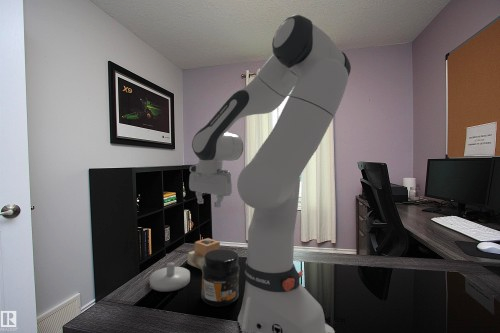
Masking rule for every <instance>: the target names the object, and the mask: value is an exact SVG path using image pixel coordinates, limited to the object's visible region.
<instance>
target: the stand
mask: <svg viewBox="0 0 500 333" xmlns="http://www.w3.org/2000/svg"><path fill="white" fill-rule="evenodd" d="M210 243H211V240H204V244H210ZM187 264H188V265H189V266H192V267H194V268H196V269H199V270H201V271H202V267H203V265H204V264H205V263H204V256H202V255H199V254H197V253H194V250H192V251H189V252H187Z"/></svg>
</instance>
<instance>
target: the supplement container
mask: <svg viewBox="0 0 500 333" xmlns="http://www.w3.org/2000/svg"><path fill="white" fill-rule="evenodd" d="M204 263H205V264H204V265H203V267H202V270H201V272H202V276H201V278H202V279H201V299H202V300H203V302H204V303H206V305H209V306H212V307H225V306H226V307H227V306H229V305H231V304H232V303H234V302H235V301H237V299H238V298H239V294H240V292H239V287H240V284H239V282H240V270H241V268H240V265H239V253H237V251H234V250H232V249H226V248H225V249H224V248H223V249H221V248H220V249H217V250H212V251H209V252H207V253H206V254H205V256H204Z"/></svg>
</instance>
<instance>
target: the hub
mask: <svg viewBox="0 0 500 333" xmlns="http://www.w3.org/2000/svg"><path fill="white" fill-rule="evenodd" d="M190 281H191V272H190V270H189V269H187V268H185V267H181V266H176V264H175V262H171V261H170V262H167V263H166V267H163V268H159V269H157V270H155V271H154V272H152V273H151V274H150V275H149V287H150V288H151V289H152V290H154V291H157V292H173V291H177V290H180V289H182V288H184V287H186V286H187V285H188V284H189V283H190Z"/></svg>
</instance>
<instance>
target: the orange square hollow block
mask: <svg viewBox="0 0 500 333" xmlns="http://www.w3.org/2000/svg"><path fill="white" fill-rule="evenodd" d="M204 240H211V243H210V244H204ZM220 245H221V244H220V241H218V240H215V239H211V238H210V237H207V238H204V239H201V240H197V241H194V248H193V249H194V250H193V251H194V253H197V254H199V255H202V256H205V254H206V253H207V252H209V251H212V250H217V249H221V248H220Z"/></svg>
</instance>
